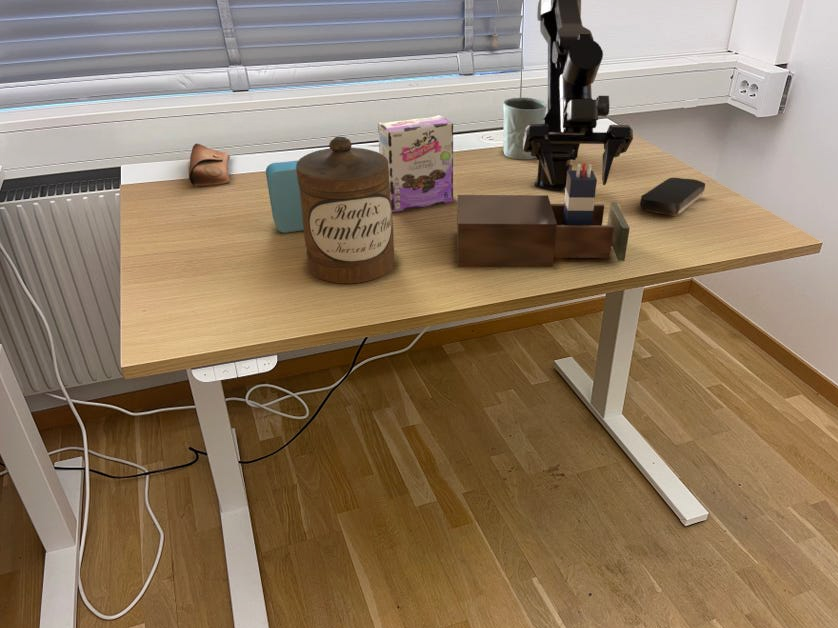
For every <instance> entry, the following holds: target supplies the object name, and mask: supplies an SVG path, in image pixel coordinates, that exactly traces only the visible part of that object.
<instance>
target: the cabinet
mask: <svg viewBox="0 0 838 628" xmlns="http://www.w3.org/2000/svg"><path fill="white" fill-rule="evenodd" d="M456 198H457V203H456V204H457V205H456V206H457V209H456V210H457V214H456V215H457V218H456V219H457V220H456V221H457V222H456V223H457V224H456V225H457V227H456V229H457V230H456V231H457V232H456V234H457V235H456V237H457V238H456V239H457V240H456V241H457V267H459V268H460V267H461V268H477V267H478V268H487V267H488V268H553V267H554V258H555V257H554V248H555V237H556V226H557V224H556V220H555V217H554V214H553V210H552V207H551V204H552V203H551V200H550V197H549V195H543V194H542V195H541V194H540V195H539V194H538V195H537V194H536V195H535V194H533V195H532V194H529V195H528V194H526V195H525V194H518V195H517V194H509V195H508V194H457V197H456Z"/></svg>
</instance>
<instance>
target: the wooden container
mask: <svg viewBox="0 0 838 628" xmlns="http://www.w3.org/2000/svg"><path fill="white" fill-rule="evenodd" d="M328 147H329V148H324V149H320V150H316V151H312V152H310V153H307V154H304V156H302V157H301V158H299V159H298V160H297V161H298V162H297V164H296V171H297V179H298V184H299V189H300V198H301V207H302V218H303V228H304V230H303V237H304V245H305V248H306V257H307V264H308V269H309V272H311V274H313V276H315V277H317V278H318V279H321V280H323V281H327V282H330V283H335V284H359V283H365V282H369V281H373V280H376V279H377V278H381V277H383V276H384V275H386V274H387V273H389V272H390V271H391V270H392V268H394V265H395V243H394V242H395V239H394V222H393V212H392V208H391V195H390V183H389V167H388V160H387V158H386V157H385V156H384V155H382V154H380V153H379V151H375V150H371V149H367V148H360V147H353V146H352V142H351V139H349V138H347V137H345V136H335V137H334V138H333V139H331V140H330V141H329V144H328Z"/></svg>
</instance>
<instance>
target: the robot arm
mask: <svg viewBox="0 0 838 628" xmlns="http://www.w3.org/2000/svg"><path fill="white" fill-rule="evenodd" d="M536 12H537V14H536V15H537V21H538V22H539V23H540V24H539V27H540V28H539V30H540V34H541V35H542V37H543V39H544V40H545V42H546V43H547V112H546V113H545V117H544V119H543V122H542V124H528V126H527V127H526V129H525V133H524V138H523V151H525V152H531V156H535V159H536V161H538V163H537V176H536V177H537V179H536V182H534V187H536V188H541V189H547V190H553V191H557V192H558V191H559V192H563V191H565V189H566V181H567V170H573V164H572V163H571V161H576V159H578V154H579V149H580V145H603V150H604V151H603V153H602V163H601V164H602V165H601V181H602V186H606V184H607V182H608V178H609V176H610V171H611V168H612V165H613V161H614V159H615V158H618V157H620V155H621V154H623V153H626V152H627V151H628V149H629V148H630V146H631V144H632V142H633V140H634V131H633V128H632V127H631V126H630V124H609V126H608V128H607V130H606V132H603V131H602V132H600V131H597V132H596V131H595V132H594V129H596V128H597V126H598V120H599V117H607V116H608V115H610V95H598V96H597V97H596V99H593V94H592V93H593V91H592V84H594V82H595V80H596V77H597V75H598V73H599V72H598V71H599V69H600V66H601V64H602V61H603V57H604V51H603V49H602V47H601V46H600V44H599V43H598V42H597V41H595V40H594V36H593V33H592V31H591V30H590V29H589V28H587V27H585V26H583V21H582V17H581V16H582V0H538V4H537V11H536Z"/></svg>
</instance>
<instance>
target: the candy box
mask: <svg viewBox="0 0 838 628" xmlns="http://www.w3.org/2000/svg"><path fill="white" fill-rule="evenodd" d="M377 128H378V129H377V130H378V131H377V133H378V153H380V154H382V155H384V156H385V157H386V158H387V160H388V167H389V183H390V195H391V208H392V213H397V212H403V211H408V210H414V209H419V208H426V207H431V206H436V205H437V206H438V205H442V204H448V203H453V202H454V123H453V122H452V121H451V120H448V119H447V118H445V117H444V116H442V115H436V116H430V117H422V118H414V119H406V120H396V121H389V122H378V123H377Z"/></svg>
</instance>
